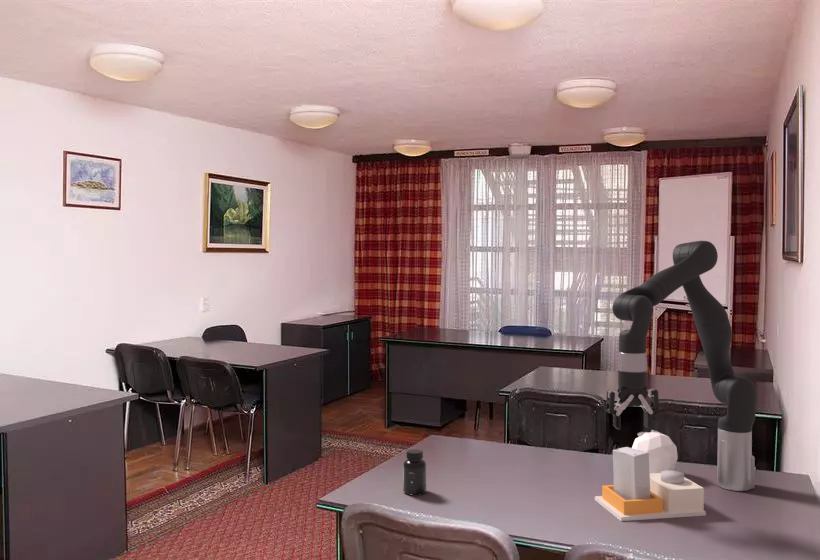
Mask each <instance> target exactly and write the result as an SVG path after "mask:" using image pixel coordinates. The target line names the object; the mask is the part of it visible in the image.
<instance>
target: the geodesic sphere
mask: <svg viewBox="0 0 820 560" xmlns="http://www.w3.org/2000/svg"><path fill="white" fill-rule="evenodd" d="M637 436H638V437H636V438H635V439H634V441H633V444H632V447H631V448H633V449H636V450H640V451H644V452H648V453H649V471H650V473H661V472H662V471H665V470H673V471H675V467H676V464H677V462H678V457H679V456H678V450H677V445H676V444H675V443H674V441H672V439H671V438H670V436H668V435H666V434H663V433H662V432H659V431H658V430H654V429H651V431H650V432H647V431H645V432H644V431H640V432H638V433H637Z"/></svg>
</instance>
